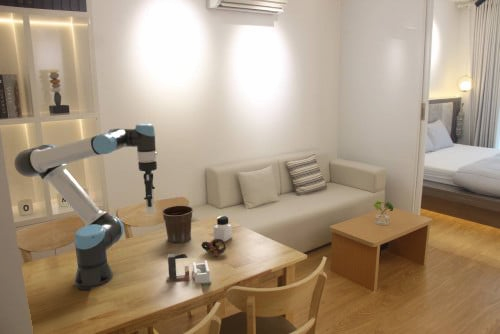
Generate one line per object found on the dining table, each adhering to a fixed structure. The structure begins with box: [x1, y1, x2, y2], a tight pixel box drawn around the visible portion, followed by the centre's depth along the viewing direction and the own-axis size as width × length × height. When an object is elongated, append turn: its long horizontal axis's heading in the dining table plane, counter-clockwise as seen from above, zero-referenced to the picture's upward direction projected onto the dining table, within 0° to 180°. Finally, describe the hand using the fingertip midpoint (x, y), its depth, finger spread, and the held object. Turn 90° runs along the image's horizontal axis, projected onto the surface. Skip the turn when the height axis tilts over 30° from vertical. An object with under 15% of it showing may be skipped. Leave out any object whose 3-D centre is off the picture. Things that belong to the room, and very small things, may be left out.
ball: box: [191, 269, 201, 279], centre depth 169 cm, size 4×4×4 cm
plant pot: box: [161, 205, 194, 244], centre depth 212 cm, size 16×16×16 cm
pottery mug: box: [200, 238, 227, 258], centre depth 195 cm, size 12×10×8 cm
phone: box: [175, 253, 189, 260], centre depth 186 cm, size 8×1×15 cm
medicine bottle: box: [213, 215, 233, 243], centre depth 212 cm, size 7×7×12 cm
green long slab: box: [192, 260, 212, 286], centre depth 167 cm, size 31×10×6 cm, turn 102°
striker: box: [166, 253, 191, 283], centre depth 167 cm, size 9×5×11 cm, turn 102°
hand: (150, 208), depth 173 cm, fingers open, 13 cm apart
